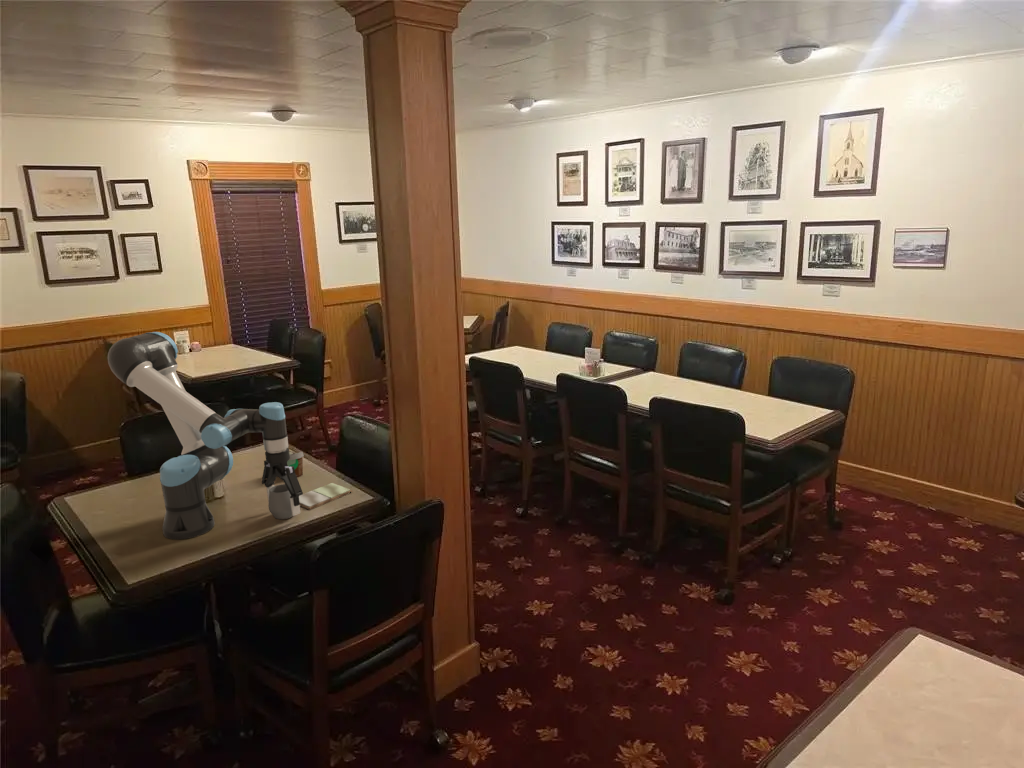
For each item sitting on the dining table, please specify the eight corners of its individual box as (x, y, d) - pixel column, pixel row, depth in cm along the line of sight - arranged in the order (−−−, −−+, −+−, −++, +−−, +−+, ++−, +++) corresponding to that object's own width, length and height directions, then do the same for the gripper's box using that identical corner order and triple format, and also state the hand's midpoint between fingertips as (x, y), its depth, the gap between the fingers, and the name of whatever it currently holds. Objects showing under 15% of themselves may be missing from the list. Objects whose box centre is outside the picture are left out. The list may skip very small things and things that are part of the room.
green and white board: (310, 509, 228) (309, 506, 227) (289, 501, 235) (289, 498, 235) (352, 492, 241) (352, 489, 241) (331, 485, 249) (331, 482, 248)
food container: (269, 478, 256) (266, 454, 254) (278, 472, 262) (276, 448, 260) (296, 481, 253) (294, 456, 250) (306, 475, 259) (303, 451, 256)
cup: (303, 510, 228) (300, 483, 225) (292, 522, 219) (289, 494, 216) (277, 509, 228) (273, 482, 226) (264, 521, 219) (261, 493, 217)
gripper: (309, 453, 213) (316, 514, 218) (266, 439, 228) (273, 496, 233) (288, 460, 207) (296, 522, 212) (245, 445, 222) (254, 504, 228)
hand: (284, 509), depth 223 cm, fingers open, 13 cm apart
